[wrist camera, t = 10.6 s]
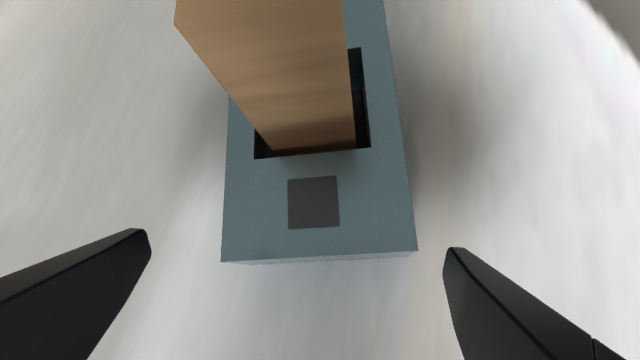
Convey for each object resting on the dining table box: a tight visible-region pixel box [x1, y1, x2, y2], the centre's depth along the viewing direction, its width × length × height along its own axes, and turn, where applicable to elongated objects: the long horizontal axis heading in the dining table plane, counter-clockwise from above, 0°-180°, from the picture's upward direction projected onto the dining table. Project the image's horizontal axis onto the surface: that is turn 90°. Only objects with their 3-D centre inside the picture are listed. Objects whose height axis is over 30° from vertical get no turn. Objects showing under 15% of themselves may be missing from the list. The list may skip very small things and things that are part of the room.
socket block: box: [221, 0, 418, 265], centre depth 18 cm, size 16×9×4 cm, turn 2°
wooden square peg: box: [174, 0, 357, 157], centre depth 14 cm, size 4×4×12 cm
